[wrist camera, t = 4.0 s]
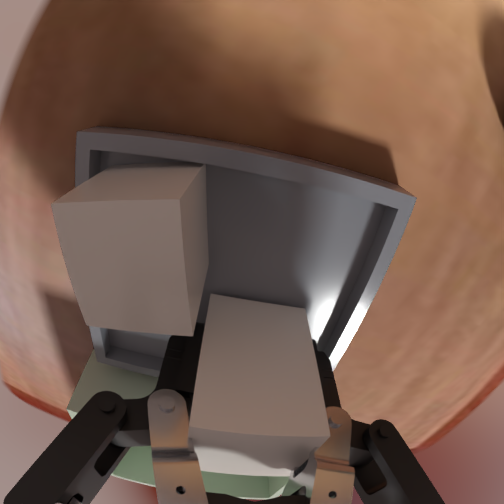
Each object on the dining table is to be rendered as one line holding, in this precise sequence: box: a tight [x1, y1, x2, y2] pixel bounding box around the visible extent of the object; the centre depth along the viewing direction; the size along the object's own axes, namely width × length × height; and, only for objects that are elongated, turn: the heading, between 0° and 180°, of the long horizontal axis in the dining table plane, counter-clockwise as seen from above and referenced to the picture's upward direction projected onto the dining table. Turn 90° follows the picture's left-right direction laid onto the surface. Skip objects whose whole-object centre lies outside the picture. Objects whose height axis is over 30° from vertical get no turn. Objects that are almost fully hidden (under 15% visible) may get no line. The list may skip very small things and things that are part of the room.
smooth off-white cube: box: [51, 162, 209, 336], centre depth 9 cm, size 4×4×4 cm
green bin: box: [67, 350, 290, 499], centre depth 17 cm, size 12×14×4 cm
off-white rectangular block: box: [188, 294, 330, 476], centre depth 11 cm, size 4×4×6 cm
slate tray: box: [75, 126, 417, 377], centre depth 12 cm, size 12×12×2 cm
